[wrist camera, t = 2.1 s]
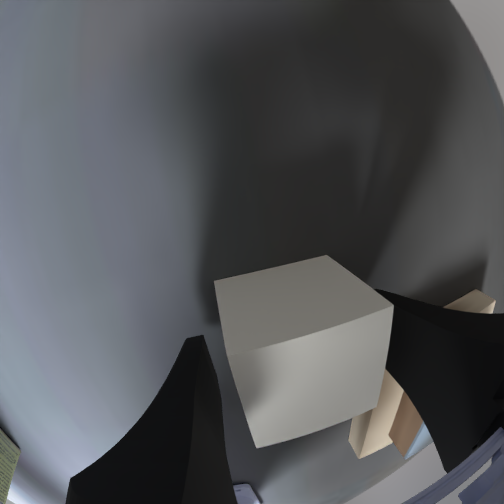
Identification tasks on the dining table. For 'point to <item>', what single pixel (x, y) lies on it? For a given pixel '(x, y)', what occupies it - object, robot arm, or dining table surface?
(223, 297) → the cream cube
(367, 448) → the base
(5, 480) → the box
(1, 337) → the dining table surface
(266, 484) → the dining table surface
